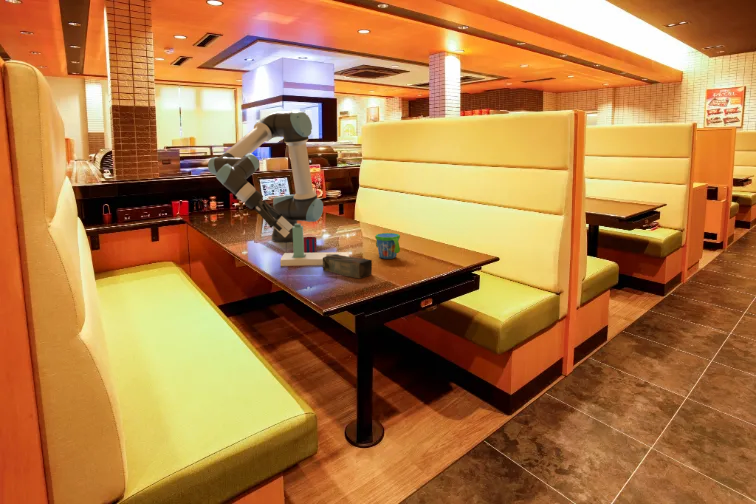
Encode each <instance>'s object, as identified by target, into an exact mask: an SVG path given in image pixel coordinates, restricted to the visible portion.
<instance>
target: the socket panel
mask: <svg viewBox="0 0 756 504" xmlns="http://www.w3.org/2000/svg"><path fill="white" fill-rule="evenodd" d="M335 254H336V255H341V256H348V257H350V251H341V252H339V251H338V252H337V251H336V252H335V251H333V252H332V251H331V252H323V251H322V252H313V253H304V258H294V252H284V253H283V255H282V256H281V258H280V267H281V268H283V267H286V266H287V267H288V266H289V267H291V266H293V267H294V266H299V267H300V266H323V257H326V256H327V255H330V256H331V255H335Z"/></svg>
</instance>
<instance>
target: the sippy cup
mask: <svg viewBox="0 0 756 504" xmlns="http://www.w3.org/2000/svg"><path fill="white" fill-rule="evenodd" d="M374 238H375V239H376V241H375V245H376V247H377V252H378V256H379V258H380V259H384V260H392V259H395V258H397V254H399V253H400V250H401V247H400V241H399V240H400V238H401V235H400V234H399V233H394V232H383V233H377V234H376V235H375V236H374Z"/></svg>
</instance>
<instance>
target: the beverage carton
mask: <svg viewBox="0 0 756 504" xmlns="http://www.w3.org/2000/svg"><path fill="white" fill-rule="evenodd" d="M372 261H373V260H372V259H367V258H365V257H363V258H361V257H360V258H359V257H354V256H349V257H348V256H341V255H336V254H335V255H331V256H330V255H327V256H326V257H323V265H322V271H325V272H329V273H335V274H337V275H338V276H345V277H351V278H355V279H363V278H365V277H369V276H372V273H373V270H372V269H373V267H372V266H373V262H372Z"/></svg>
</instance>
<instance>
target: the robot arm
mask: <svg viewBox="0 0 756 504" xmlns="http://www.w3.org/2000/svg"><path fill="white" fill-rule="evenodd" d="M312 130H313V124H312V120H311V118H310V117H309V115H308V114H307V113H306V112H305V111H300V110H291V111H287V110H286V111H276V112H275V111H274V112H272V113H270V114H267V115H265V117H263V118H261V119H260V120H259V121H258V122H255V124H254V126H253V128H252V129H251V130H250V131H249V132H248V133H247V134H245V135H244V136H243V137H242V138H240V139H239V140H238V141H237V142H235V144H233V145H232V146H231V147H229V149H227V150H226V151H225V152H224V153H223V154H222V155H220V156H219V157H218V156H215V157H211V158H209V161H208V163H207V167H208V168H207V169H208V171H209V173H210V174H212V175H214V176H215V178H216V179H217V180H218V181H219V182H220V183H221V184H222V186H224V187H225V188H226V189H227V190H229V191H230V192H231V193H232V194H233V195H234V196H235V197H236V199H237V200H240V201H241V202H242V203H244V206H246V207H247V208H248V209H250V210H252V209H253V208H254V211H256V212H257V213H258V214H259V215H260V217H262V219H263V221H265V223H267V225H268V226H269V228H271V229H273V230H272V233H271V241H272V242H278V243H289V242H292V243H293V229H292V228H293V226H295V224H298V221H299V222H309V223H310V222H317V221H318V220H320V219H321V217H322V214H323V211H324V202H323V201H322V199H320V198H318V194H317V192H316V191H314V187H313V183H312V181H313V180H312V174H311V170H310V169H311V167H310V163H309V162H310V161H309V154H308V146H307V142H308V140H309V139H310V138H309V137H310V135H311V134H312ZM274 138H283V143H285V144H286V145H287V146H288V153H289V154H288V155H289V159H290V164H291V165H290V166H291V171H292V177H293V183H294V184H293V185H294V190H295V193H294V194H286V195H279V196H275V197H273V200H272V201H273V202H272V206H271V205H270V204H269V203H267V202H266V201H265V200H262V199H264V198H263V197H264V195H263V194H262V193H261V192H260V191H258V190H256V188H255V187H254V185H252V184H251V183H250V182H249V181H248V178H250V177H251V176H252V175H253V174H254V173H256V171H257V170H258V169H259V167H260V161H259V159H258V157H257V156H256V155H254V154H253V153H254V151H256V150H257V149H258V148H260V146H261V145H262V144H264V143H265V142H269V141H271V140H272V139H274Z"/></svg>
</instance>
